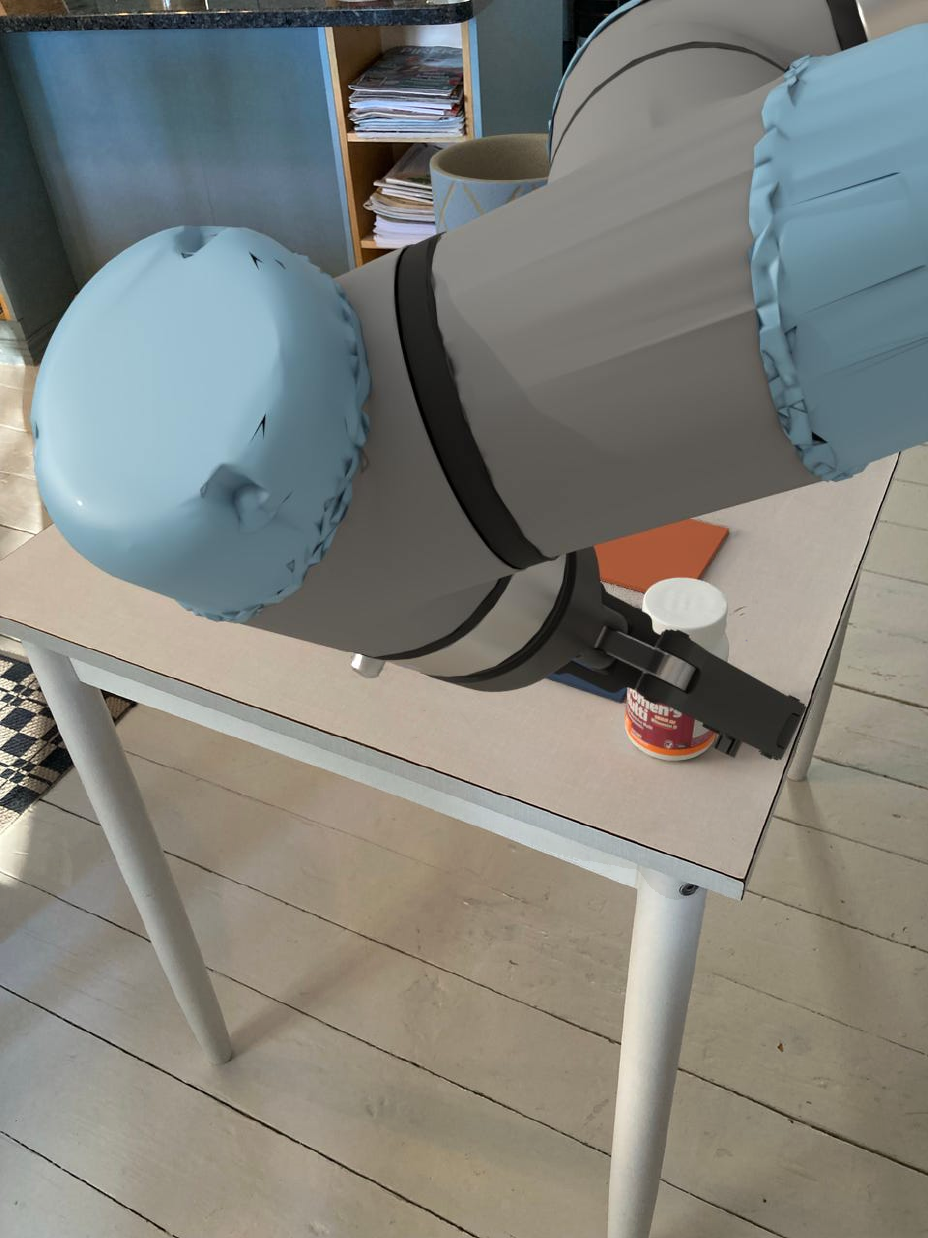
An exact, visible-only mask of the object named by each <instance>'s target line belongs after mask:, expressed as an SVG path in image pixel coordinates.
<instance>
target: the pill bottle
mask: <svg viewBox="0 0 928 1238" xmlns="http://www.w3.org/2000/svg"><path fill="white" fill-rule="evenodd" d="M641 609H642V611H643V612H645V613H647V614H648V615H649V616H650V617H651V619H652V624H653V630H654V631H655V632H656V633H658V634H660V635H661V633H662V631H665V629H667V630H670V629H672V630H674V631H676V630H680V631H682V632H684V633H686V634H688V635H690V636H689V638H690V639H691V640H692V641H694V642H695V643H697V644H698V645H700V646H701V647H703V648H704V649H705V650H707V651H708V652H710V653H712V654H713V655H715V656H717V657H719V658H720V659H722V660H724V661H726V662H728V660H729V657H730V656H729V655H730V641H729V638H728V635H727V632H726V629H727V622H728V621H727V619H728V611H729V603H728V600H727V598H726V596H725V595H724V593H723V592H722V591H721V590H720V589H719V588H717V587H716V586H715V585H713V584H711V583H710V582H707V581H704V580H701V579H699V580H697V579H693V578H671V579H666V580H663V581H660V582H658V583H656V584H654V585H653V586H651V587H650V588H649V589H648V590H647V592H646V593H644V596H643V599H642V607H641ZM728 663H729V662H728ZM643 698H644V696H642V695H640V694H639V692H637V691H635V690H633V689H631V688H628V690H627V695H626V704H625V715H624V727H625V731H626V734H627V737H628V738H629V741H631V742H632V744H633V745H634V746H635V747H636V748H637V749H638V750H640V751H641V752H642V753H644V754H646V755H648V756H650V757H652V758H656V759H660V760H663V761H670V762H671V761H672V762H673V761H674V762H675V761H676V762H677V761H684V760H685V761H687V760H690V759H693V758H696V757H698V756H699V755H701V754H704V752H706V751H707V750H708V749H709V748H710V747H711V745H712V744H713V742H714V740H715V738H716V735H717V734H716V733H714V732H712V731H710V730H708V729H706V728H704V727H702V725H703V723H702V722H700V721H697V720H695V719H693V718H691V717H689V716H687V715H685V714H683V713H681V712H679V711H677V710H675V709H672V708H670V707H668V706H666V705H664V704H662V703H660V704H658V703H657V704H656V705H655V704H653V703H651V702H648V701H646V700H644V699H643Z"/></svg>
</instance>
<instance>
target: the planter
mask: <svg viewBox="0 0 928 1238" xmlns="http://www.w3.org/2000/svg"><path fill="white" fill-rule="evenodd" d="M548 136H549V133H508V134H499V135H490V136H483V137H479V138H473V139H468V140H465V141H461V142H457V143H454V144H451V145H449V146H446V147H444V148H442V149H441V150H439V151H438V152H436V153H434V154H433V155H432V157H431V158H430V161H429V173H430V183H431V192H432V204H433V213H434V214H433V215H434V224H435V233H436V234H439V233H442V232H445V231H446V232H449V231H451V230H453V229H455V228H457V227H459V226H461V225H463V224H465V223H468V222H470V221H472V220H474V219H476V218H478V217H480V216H482V215H484V214H486V213H488V212H491V211H493V210H495V209H497V208H499V207H501V206H503V205H505V204H507V203H509V202H511V201H513V200H515V199H518V198H520V197H522V196H524V195H526V194H528V193H530V192H532V191H534V190H536V189H538V188H540V187H542V186H545V185H547V183H548V177H549V173H550V167H549V159H548V153H547V141H548ZM436 234H435V235H436Z"/></svg>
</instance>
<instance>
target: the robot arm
mask: <svg viewBox="0 0 928 1238" xmlns="http://www.w3.org/2000/svg"><path fill="white" fill-rule="evenodd" d="M548 134H549V136H548V141H547V153H548V159H549V167H550V173H549V177H548V183H547V185H545V186H542V187H540V188H538V189H536V190H534V191H532V192H530V193H528V194H526V195H524V196H522V197H520V198H518V199H515V200H513V201H511V202H509V203H507V204H505V205H503V206H501V207H499V208H497V209H495V210H493V211H491V212H488V213H486V214H484V215H482V216H480V217H478V218H476V219H474V220H472V221H470V222H468V223H465V224H463V225H461V226H459V227H457V228H455V229H453V230H451V231H449V232H446V231H445V232H442V233H439V234H434V235H431V236H430V237H428V238H424V239H423V240H421V241H419V242H416V243H411V244H406V245H404V246H402V247H399V248H397V249H395V250H393V251H390V252H388V253H386V254H384V255H381V256H379V257H377V258H375V259H373V260H371V261H369V262H366V263H364V264H363V265H360V266H358V267H356V268H354V269H351V270H349V271H347V272H345V273H343V274H341V275H339V276H336V277H333V278H332V275H331V274H327V272H326V271H324V270H323V269H322V268H321V267H319V266H318V265H316V264H313V263H312V261H311V258H310V257H309V255H304V254H299V253H298V252H297V251H295V252H292V251H291V250H289V249H288V248H286V246H284V245H282V244H281V243H279V242H278V241H276V240H275V239H274V238H272V237H270V236H268V235H266V234H264V233H261V232H259V231H256V230H254V229H251V228H248V227H246V226H244V227H243V226H241V227H233V226H224V225H223V226H221V225H220V226H219V225H218V226H217V225H202V226H195V225H194V226H193V225H185V224H184V225H178V226H174V227H170V228H167V229H163V230H161V231H158V232H156V233H154V234H151V235H149V236H147V237H145V238H143V239H141V240H140V241H138V242H136V243H134V244H133V245H131V246H129V247H127V248H125V249H124V250H123V251H121V252H120V253H118V254H117V255H116V256H115V257H113V258H112V259H110V260H109V261H108V262H106V264H105V265H104V266H102V267H101V269H99V270H98V271H97V272H96V273H95V274H94V275H93V276H92V277H91V278H90V279H89V281H87V283H86V284H85V285H84V286H83V287H82V289H80V291H79V292H78V294H77V295H76V297H74V299H73V300H72V301H71V303H70V305H69V306H68V308H67V309H66V311H65V312H64V314H63V316H62V317H61V319H60V320H59V322H58V324H57V326H56V328H55V330H54V332H53V334H52V336H51V338H50V340H49V342H48V344H47V347H46V350H45V352H44V354H43V357H42V359H41V362H40V365H39V366H40V367H39V369H38V373H37V376H36V378H35V379H36V380H35V384H34V390H33V394H32V400H31V407H30V413H29V414H30V416H29V422H30V426H31V432H32V438H33V439H32V440H33V444H34V445H33V451H32V457H33V460H34V461H33V462H34V465H33V473H34V476H35V479H36V483H37V488H38V492H39V495H40V498H41V500H42V503H43V506H44V509H45V510H46V512H47V514H48V516H49V517H50V519H51V521H52V523H53V524H54V526H55V528H56V529H57V530H58V532H59V534H60V535H61V536H62V538H64V540H65V541H66V542H67V543H68V544H69V545H70V547H71V548H72V549H73V550H74V551H75V552H76V553H77V554H79V555H80V556H81V557H82V558H84V559H85V560H86V561H88V562H89V563H90V564H91V565H93V566H94V567H96V568H97V569H99V570H100V571H102V572H104V573H106V574H108V575H109V576H111V577H112V578H116V579H118V580H120V581H122V582H126V583H129V584H131V585H135V586H137V587H140V588H142V589H145V590H147V591H150V592H153V593H156V594H159V595H161V596H164V597H166V598H169V599H173V600H174V601H175V602H176V603H177V604H178V606H181V608H183V609H184V610H186V611H188V612H193V614H194V616H196V617H201V618H206V619H207V620H211V621H214V622H216V623H219V622H226V623H230V624H236V625H237V624H240V625H243V626H246V627H251V628H255V629H259V630H261V631H266V632H269V633H272V634H277V635H280V636H284V637H288V638H292V639H296V640H299V641H303V642H306V643H307V642H308V643H311V644H315V645H319V646H322V647H326V648H331V649H334V650H338V651H341V652H344V653H353V654H354V655H353V658H352V660H351V662H350V665H351V669H352V671H353V672H355V673H357V674H358V675H360V676H362V677H363V678H365V679H375V678H379V676H380V674H381V672H382V670H383V669H384V666H385V664H386V663H390V664H393V665H395V666H398V667H402V668H404V669H406V670H410V671H414V672H418V673H420V674H423V675H424V676H427V677H429V678H433V679H436V680H439V681H441V682H442V681H443V682H444V683H445V682H446V683H449V684H452V685H456V686H457V687H458V686H459V687H461V688H466V689H469V690H472V691H477V692H478V691H479V692H486V693H503V692H511V691H516V690H520V689H523V688H527V687H529V686H532V685H534V684H536V683H539V682H540V681H542V680H544V679H547V678H546V677H548V676H549V675H551V674H552V673H554V674H557V675H561V674H566V673H568V674H571V675H573V676H576V677H578V678H580V679H582V680H584V681H586V682H588V683H590V684H592V685H595V686H597V687H599V688H601V689H603V690H605V691H607V692H610V693H616V692H619V691H620V690H621V689H623V688H625V687H628V688H631V689H633V690H635V691H637V692H639V694H640V695H642V696H644V698H643V699H644V700H646V701H648V702H651V703H653V704H655V705H656V704H657V703H658V704H660V703H662V704H664V705H666V706H668V707H670V708H672V709H675V710H677V711H679V712H681V713H683V714H685V715H687V716H689V717H691V718H693V719H695V720H697V721H700V722H702V723H703V725H702V727H704V728H706V729H708V730H710V731H712V732H714V733H716V735H717V737H716V739H715V742H714V744H713V746H712V748H713V749H715V750H717V751H719V752H721V753H723V754H725V755H727V756H729V757H731V758H734V759H735V758H736V756H737V755H738V752H739V751H740V748H741V745H742V744H743V743H744V744H745V745H748V746H750V747H752V748H754V749H757V750H758V752H759V755H760V756H763V757H765V758H767V759H769V760H772V759H773V760H775V761H779V760H780V761H782V760H783V757H784V755H785V753H786V751H787V749H789V748H788V747H789V745H790V743H791V742H792V739H793V738H794V735H795V733H796V731H797V729H798V727H799V725H800V723H801V721H802V718H803V716H804V714H805V712H806V710H807V708H808V706H806V704H805V703H803V702H801V699H799V698H797V697H795V696H793V695H791V694H788V695H787V694H784V693H783V692H781V691H779V690H778V689H776V688H774V687H772V686H770V685H769V684H766V683H765V682H763V681H761V680H760V679H758V678H756V677H754V676H753V675H751V674H749V673H747V672H745V671H744V670H742V669H740V668H738V667H736V666H735V665H734V664H731V663H729V662H726V661H724V660H722V659H720V658H719V657H717V656H715V655H713V654H712V653H710V652H708V651H707V650H705V649H704V648H703V647H701V646H700V645H698V644H697V643H695V642H694V641H692V640H691V639H690V638H689V636H690V635H688V634H686V633H684V632H682V631H680V630H676V631H674V630H672V629H670V630H667V629H665V631H662V633H661V635H660V634H658V633H656V632H655V631H654V630H653V624H652V619H651V617H650V616H649V615H648V614H647V613H645V612H643V611H641V610H639V609H638V608H639V607H637V608H636V606H634V605H632V604H630V603H628V602H626V601H625V600H622V599H620V598H618V597H617V596H615V595H613V594H611V593H609V592H608V591H607V589H606V587H605V584H604V583H603V582H602V581H600V570H599V563H598V559H597V555H596V551H595V548H594V546H595V545H598V544H602V543H605V542H609V541H612V540H616V539H619V538H623V537H627V536H630V535H634V534H637V533H641V532H644V531H648V530H651V529H655V528H658V527H662V526H666V525H669V524H673V523H676V522H680V521H683V520H687V519H694V518H697V517H702V516H704V515H708V514H712V513H716V512H719V511H722V510H726V509H729V508H733V507H736V506H739V505H744V504H746V503H750V502H755V501H758V500H762V499H764V498H769V497H772V496H775V495H779V494H783V493H787V492H789V491H793V490H796V489H800V488H803V487H808V486H812V485H815V484H818V483H823V482H826V483H829V482H830V481H831V482H834V483H838V482H841V481H845V480H848V479H852V478H853V477H854V475H858V474H861V473H863V472H864V471H865V470H866V469H867V467H868V466H869V464H871V463H873V462H876V461H879V460H881V459H885V458H887V457H890V456H892V455H895V454H898V453H901V452H903V451H906V450H909V449H912V448H915V447H918V446H920V445H923V444H925V443H928V0H629V1H628V2H626V3H624V4H623V5H621V6H620V7H618V8H617V9H615V10H614V11H613V12H611V13H610V14H609V15H608V16H606V18H604V19H603V20H602V21H601V22H600V23H599V24H598V25H597V26H596V28H594V29H593V31H592V32H591V33H590V34H589V35H588V37H587V38H586V40H585V41H584V43H583V44H582V45H581V47H579V48H578V49H577V50H576V52H575V53H574V55H573V57H572V58H571V60H570V62H569V63H568V66H567V68H566V70H565V72H564V74H563V76H562V79H561V82H560V84H559V87H558V88H557V92H556V95H555V98H554V101H553V105H552V110H551V113H550V116H549V119H548ZM600 651H601V652H600ZM602 652H603V653H602ZM572 659H576V660H578V661H580V662H582V663H584V664H587V665H589V666H591V667H593V668H592V669H591V668H587V667H585V666H583V665H581V664H579V663H577V662H574V661H572Z"/></svg>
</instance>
